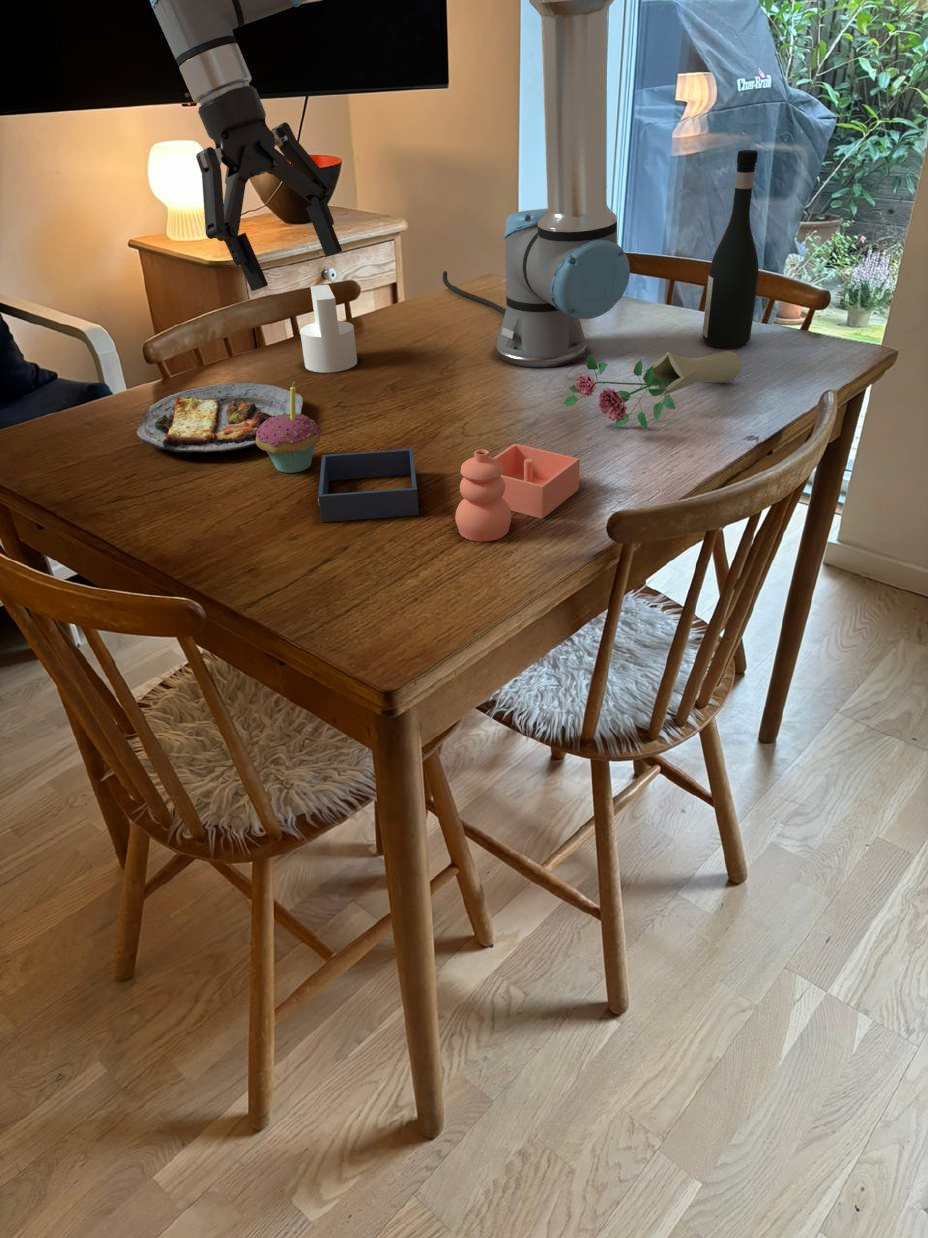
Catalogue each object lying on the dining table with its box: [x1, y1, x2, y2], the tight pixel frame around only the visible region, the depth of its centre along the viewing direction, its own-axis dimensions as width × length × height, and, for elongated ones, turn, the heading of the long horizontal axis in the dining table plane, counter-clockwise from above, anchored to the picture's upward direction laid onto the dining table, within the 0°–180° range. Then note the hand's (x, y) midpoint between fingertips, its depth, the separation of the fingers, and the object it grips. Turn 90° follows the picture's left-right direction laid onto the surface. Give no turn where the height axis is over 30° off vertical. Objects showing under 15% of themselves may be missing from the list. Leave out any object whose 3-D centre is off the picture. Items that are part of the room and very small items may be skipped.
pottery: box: [454, 443, 581, 543], centre depth 113 cm, size 18×10×10 cm, turn 146°
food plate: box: [135, 382, 304, 454], centre depth 140 cm, size 25×23×4 cm
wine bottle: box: [702, 149, 759, 349], centre depth 155 cm, size 8×8×30 cm
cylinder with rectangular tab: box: [299, 284, 358, 374], centre depth 159 cm, size 9×9×12 cm
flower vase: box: [563, 350, 742, 431], centre depth 136 cm, size 12×12×35 cm
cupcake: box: [256, 381, 322, 474], centre depth 125 cm, size 9×8×12 cm
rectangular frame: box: [317, 448, 420, 523], centre depth 119 cm, size 12×12×4 cm
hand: (298, 270), depth 123 cm, fingers open, 13 cm apart
